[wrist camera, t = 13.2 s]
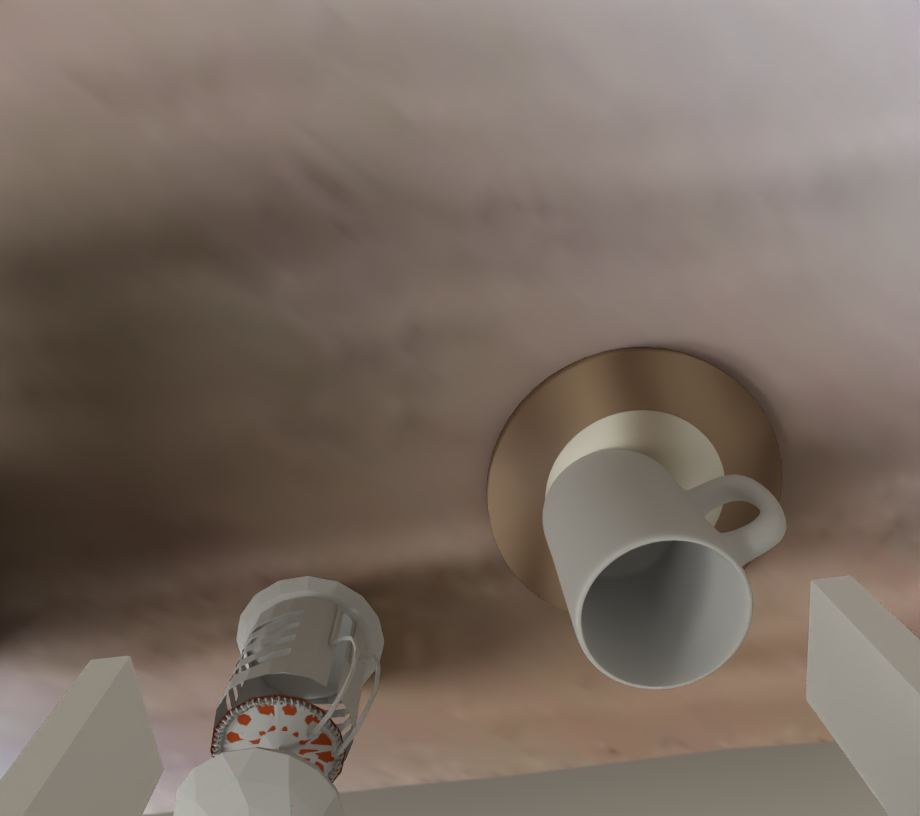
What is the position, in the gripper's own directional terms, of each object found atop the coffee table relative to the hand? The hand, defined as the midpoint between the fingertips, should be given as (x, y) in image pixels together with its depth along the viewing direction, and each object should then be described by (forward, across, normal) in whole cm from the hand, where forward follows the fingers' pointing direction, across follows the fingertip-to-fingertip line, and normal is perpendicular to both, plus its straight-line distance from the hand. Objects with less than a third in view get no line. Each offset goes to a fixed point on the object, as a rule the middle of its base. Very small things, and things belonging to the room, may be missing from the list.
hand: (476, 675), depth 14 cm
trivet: (+29, +10, -10) cm, 32 cm away
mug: (+28, +10, -10) cm, 31 cm away
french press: (+29, -11, -18) cm, 36 cm away
